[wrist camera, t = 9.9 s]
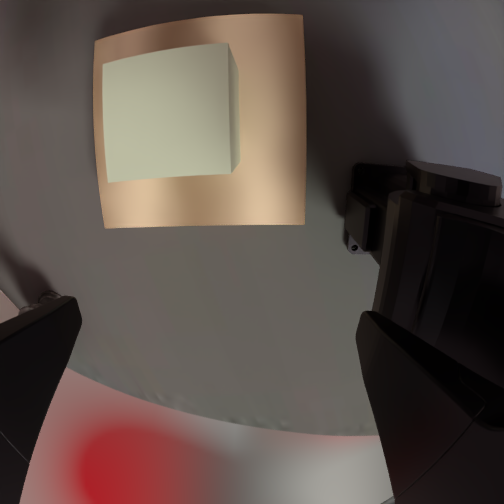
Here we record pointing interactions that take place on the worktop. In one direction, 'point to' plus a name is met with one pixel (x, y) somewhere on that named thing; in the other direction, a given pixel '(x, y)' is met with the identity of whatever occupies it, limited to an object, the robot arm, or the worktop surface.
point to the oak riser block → (251, 128)
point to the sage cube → (171, 113)
